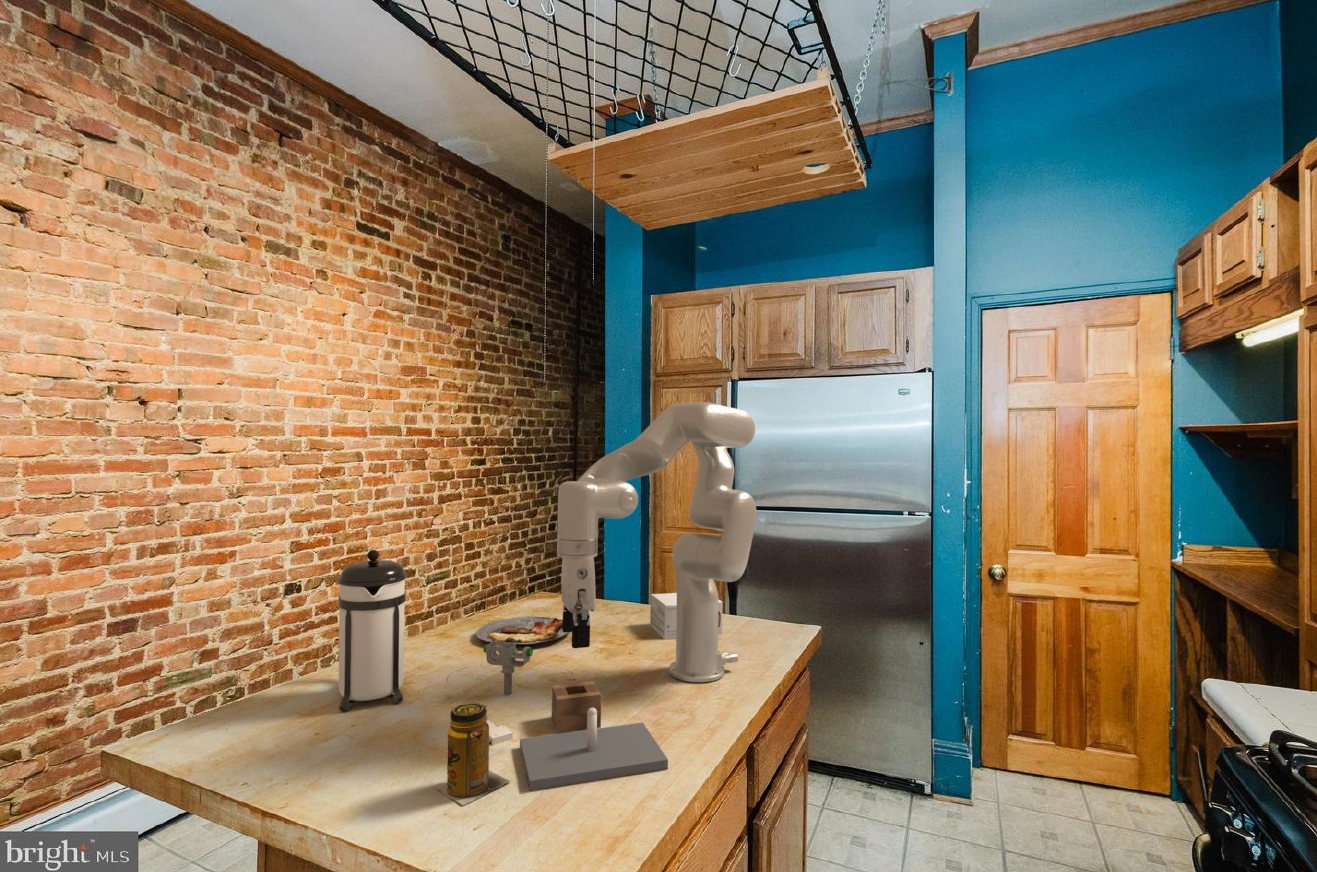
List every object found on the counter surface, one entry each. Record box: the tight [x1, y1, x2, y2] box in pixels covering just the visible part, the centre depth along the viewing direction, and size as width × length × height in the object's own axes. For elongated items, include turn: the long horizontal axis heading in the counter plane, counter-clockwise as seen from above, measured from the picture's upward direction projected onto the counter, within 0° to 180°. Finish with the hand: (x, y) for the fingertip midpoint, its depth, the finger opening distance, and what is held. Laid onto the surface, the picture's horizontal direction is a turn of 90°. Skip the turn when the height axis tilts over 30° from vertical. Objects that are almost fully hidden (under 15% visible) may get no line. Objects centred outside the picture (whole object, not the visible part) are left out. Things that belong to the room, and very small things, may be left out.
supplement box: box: [649, 592, 723, 640], centre depth 178 cm, size 17×13×9 cm
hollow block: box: [551, 680, 602, 734], centre depth 120 cm, size 8×7×6 cm
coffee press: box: [337, 549, 408, 713], centre depth 131 cm, size 17×16×30 cm
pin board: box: [519, 708, 669, 792], centre depth 107 cm, size 22×14×8 cm, turn 108°
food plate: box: [475, 615, 571, 645], centre depth 171 cm, size 25×23×4 cm
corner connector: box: [486, 719, 514, 746], centre depth 114 cm, size 8×8×2 cm
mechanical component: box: [483, 642, 534, 696], centre depth 133 cm, size 3×10×10 cm, turn 78°
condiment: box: [435, 702, 511, 806], centre depth 98 cm, size 7×8×12 cm
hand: (575, 639), depth 120 cm, fingers open, 9 cm apart
